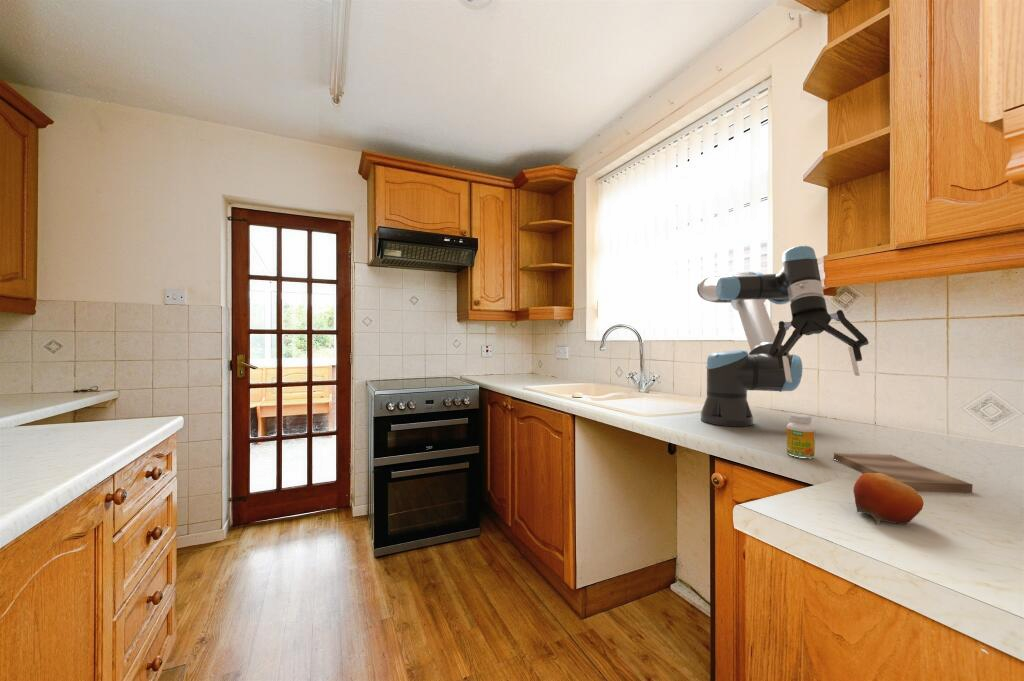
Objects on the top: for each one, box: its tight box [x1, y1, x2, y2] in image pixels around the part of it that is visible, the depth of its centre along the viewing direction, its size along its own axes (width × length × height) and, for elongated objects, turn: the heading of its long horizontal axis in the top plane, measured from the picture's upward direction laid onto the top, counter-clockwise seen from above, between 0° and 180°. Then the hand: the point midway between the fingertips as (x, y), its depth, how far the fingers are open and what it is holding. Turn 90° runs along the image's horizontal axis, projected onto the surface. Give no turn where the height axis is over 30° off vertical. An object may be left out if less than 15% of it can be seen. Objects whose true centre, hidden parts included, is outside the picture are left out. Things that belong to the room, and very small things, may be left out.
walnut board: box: [833, 452, 973, 493], centre depth 83 cm, size 18×12×2 cm, turn 174°
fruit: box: [853, 473, 925, 526], centre depth 63 cm, size 8×8×8 cm
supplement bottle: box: [786, 413, 816, 459], centre depth 95 cm, size 5×5×10 cm
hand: (821, 378), depth 99 cm, fingers open, 13 cm apart
